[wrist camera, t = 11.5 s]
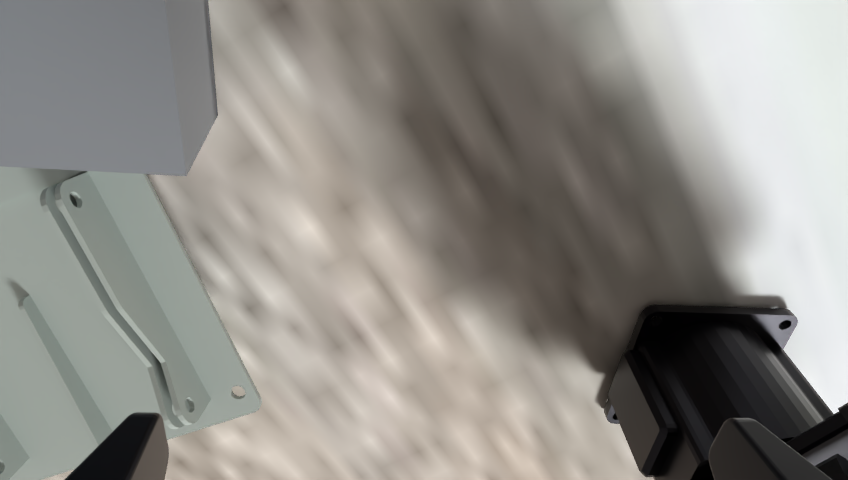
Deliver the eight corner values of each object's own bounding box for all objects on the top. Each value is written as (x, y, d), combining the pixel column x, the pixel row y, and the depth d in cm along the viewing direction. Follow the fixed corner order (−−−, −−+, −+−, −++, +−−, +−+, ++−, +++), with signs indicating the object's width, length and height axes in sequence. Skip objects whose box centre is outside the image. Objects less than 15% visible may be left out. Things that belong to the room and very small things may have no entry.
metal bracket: (316, 445, 20) (-79, 565, 22) (343, 355, 25) (26, 457, 27) (91, -11, 16) (-373, 187, 18) (181, 0, 21) (-179, 150, 23)
